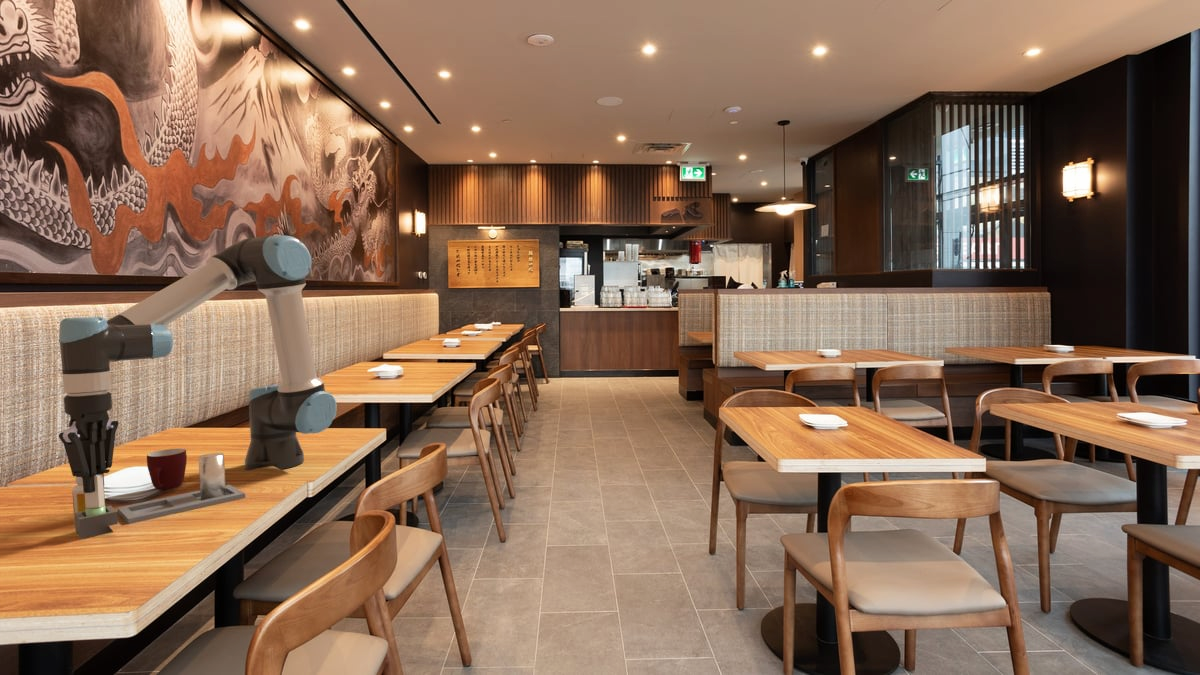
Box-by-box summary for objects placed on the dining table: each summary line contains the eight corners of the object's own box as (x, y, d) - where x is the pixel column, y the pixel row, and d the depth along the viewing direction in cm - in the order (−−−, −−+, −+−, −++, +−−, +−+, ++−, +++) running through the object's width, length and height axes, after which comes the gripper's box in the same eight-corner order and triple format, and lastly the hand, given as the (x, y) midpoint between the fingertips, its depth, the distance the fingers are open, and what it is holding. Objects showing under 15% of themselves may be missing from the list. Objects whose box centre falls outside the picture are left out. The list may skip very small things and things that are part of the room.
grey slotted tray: (229, 494, 152) (229, 484, 152) (245, 503, 144) (245, 493, 144) (117, 518, 136) (117, 507, 136) (129, 530, 128) (128, 519, 128)
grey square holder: (112, 523, 133) (110, 505, 132) (118, 530, 129) (116, 511, 128) (75, 531, 128) (74, 512, 128) (80, 539, 124) (79, 519, 124)
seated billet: (222, 493, 148) (219, 451, 147) (229, 497, 145) (226, 455, 144) (197, 498, 144) (195, 456, 144) (204, 503, 141) (202, 459, 140)
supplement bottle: (111, 515, 138) (109, 472, 137) (85, 524, 133) (82, 479, 132) (95, 513, 140) (92, 470, 139) (68, 521, 135) (65, 477, 134)
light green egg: (104, 522, 131) (103, 503, 130) (107, 526, 128) (106, 507, 128) (85, 526, 128) (84, 507, 128) (88, 530, 126) (86, 511, 126)
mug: (179, 498, 150) (177, 457, 149) (139, 501, 147) (137, 460, 146) (192, 485, 160) (190, 447, 159) (155, 489, 157) (153, 450, 156)
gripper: (93, 388, 133) (100, 496, 134) (41, 398, 120) (49, 518, 121) (129, 388, 133) (136, 495, 135) (81, 397, 120) (89, 516, 122)
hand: (95, 506), depth 128 cm, fingers closed
